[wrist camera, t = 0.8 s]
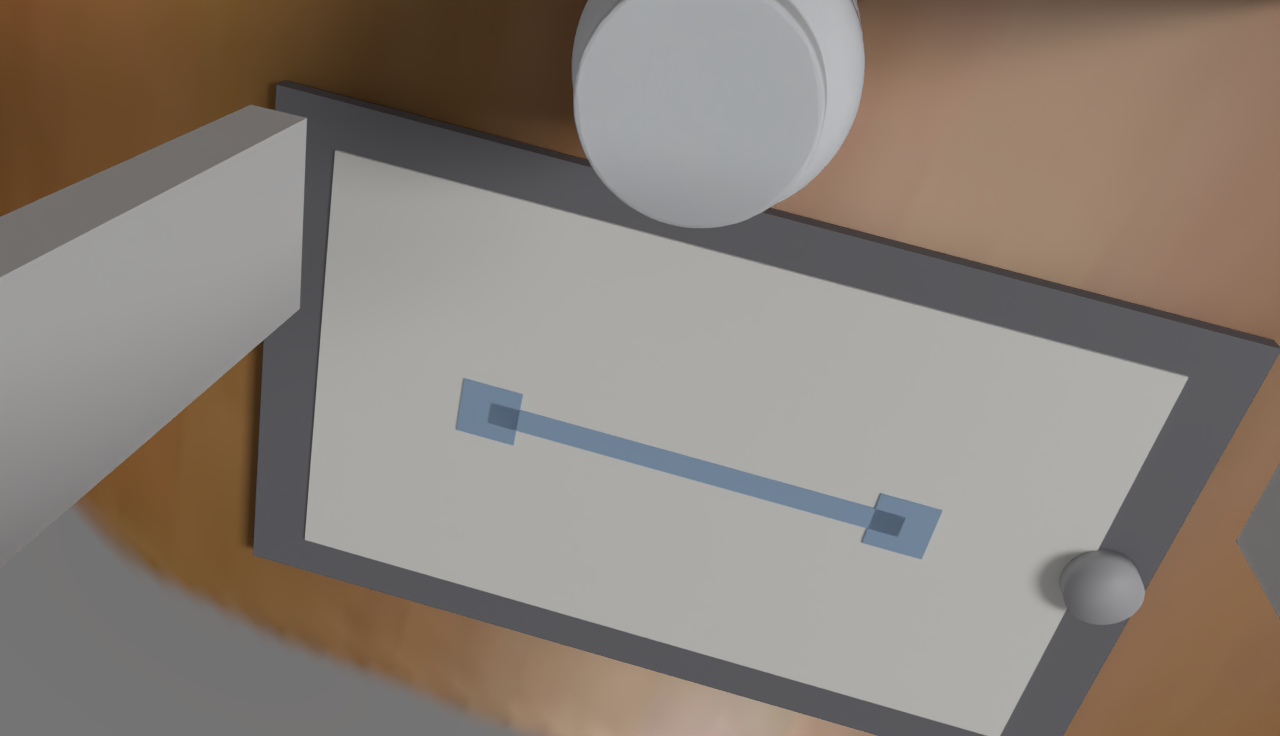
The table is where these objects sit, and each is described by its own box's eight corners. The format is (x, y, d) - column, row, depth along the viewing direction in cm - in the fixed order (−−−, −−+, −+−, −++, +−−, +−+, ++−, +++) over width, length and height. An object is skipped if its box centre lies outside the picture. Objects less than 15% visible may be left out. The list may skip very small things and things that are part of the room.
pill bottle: (691, 165, 31) (621, 314, 21) (595, -37, 29) (468, 27, 19) (894, 74, 29) (920, 194, 19) (806, -150, 27) (784, -142, 17)
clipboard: (285, 80, 32) (263, 90, 31) (1274, 340, 31) (1292, 361, 29) (260, 545, 41) (242, 567, 39) (1034, 768, 39) (1040, 799, 38)
